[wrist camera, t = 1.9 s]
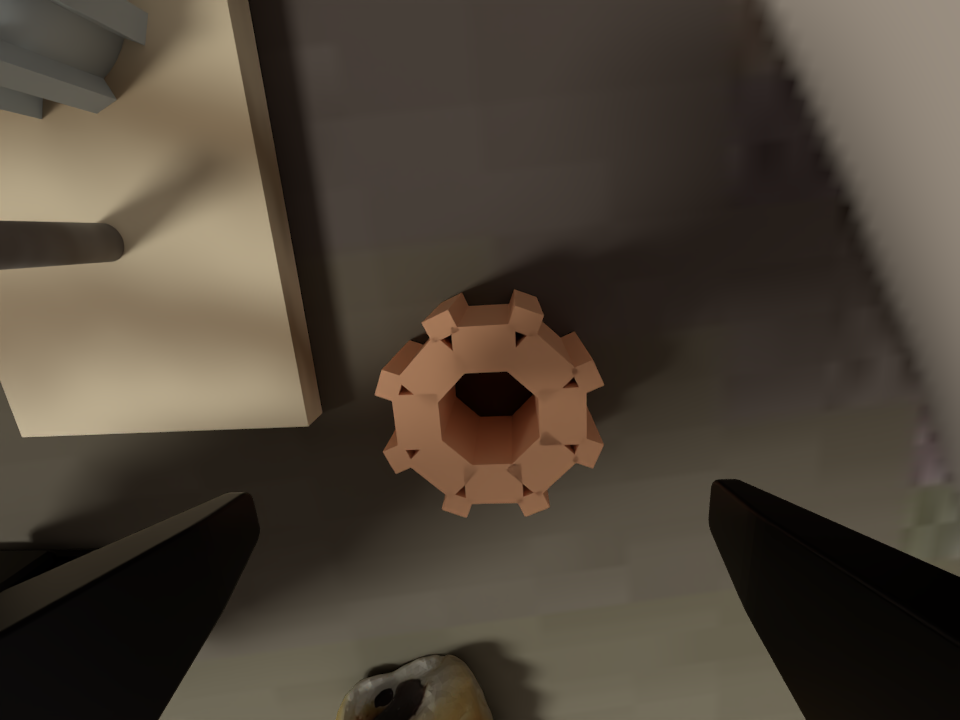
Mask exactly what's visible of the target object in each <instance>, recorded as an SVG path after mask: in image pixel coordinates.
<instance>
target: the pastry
mask: <svg viewBox="0 0 960 720" xmlns="http://www.w3.org/2000/svg"><path fill="white" fill-rule="evenodd" d="M336 720H493V717H492V714H491V711H490V709H489V707H488V705H487V702H486V700H485V697H484V693H483V691H482V689H481V687H480V685H479V683H478V682H477V680H476V679H475V677H474V674H473V673H472V672H471V670H470V669H469V668H468V666H467V665H466V664H465V663H464V662H463V661H462V660H461V659H459V658H457V657H456V656H453V655H446V656H439V655H431V656H427V657H421V658H418V659H416V660H415V661H412V662H410V663H408V664H406V665H404V666H402V667H401V668H399V669H397V670H396V671H393V672H390V673H386V674H380V675H376V676H372V677H368V678H365V679H362V680H360V681H359V682H357V683H356V684H355V686H354V687H353V688H352V689H351V690H350V691H349V692H348V693H347V694H346V695H345V697H344V700H343V702H342V704H341V706H340V708H339V710H338V714H337V717H336Z"/></svg>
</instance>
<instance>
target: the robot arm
mask: <svg viewBox="0 0 960 720" xmlns="http://www.w3.org/2000/svg"><path fill="white" fill-rule="evenodd" d="M709 527H710V530H711V533H712V535H713V538H714V540H715V542H716V545H717V547H718V549H719V552H720V554H721V556H722V559H723V561H724V563H725V566H726V568H727V570H728V573H729V575H730V577H731V580H732V582H733V584H734V587H735V589H736V591H737V594H738V596H739V598H740V600H741V602H742V605H743V607H744V609H745V611H746V613H747V615H748V617H749V618H750V620H751V622H752V624H753V626H754V628H755V629H756V631H757V633H758V635H759V637H760V638H761V640H762V642H763V644H764V646H765V647H766V649H767V651H768V653H769V655H770V656H771V658H772V660H773V662H774V663H775V665H776V667H777V669H778V671H779V672H780V674H781V676H782V678H783V680H784V681H785V683H786V685H787V687H788V689H789V690H790V692H791V694H792V696H793V697H794V699H795V701H796V703H797V705H798V706H799V708H800V710H801V712H802V714H803V715H804V717H805V719H806V720H960V577H958V576H956V575H954V574H952V573H949V572H947V571H945V570H943V569H940V568H938V567H936V566H933V565H931V564H929V563H927V562H924V561H922V560H920V559H918V558H915V557H913V556H911V555H908V554H906V553H904V552H902V551H899V550H897V549H895V548H893V547H890V546H888V545H886V544H883V543H881V542H879V541H877V540H874V539H872V538H870V537H868V536H865V535H863V534H861V533H859V532H856V531H854V530H852V529H849V528H847V527H845V526H843V525H840V524H838V523H836V522H834V521H831V520H829V519H827V518H824V517H822V516H820V515H818V514H815V513H813V512H811V511H809V510H806V509H804V508H802V507H799V506H797V505H795V504H793V503H790V502H788V501H786V500H784V499H781V498H779V497H777V496H775V495H772V494H770V493H768V492H765V491H763V490H761V489H759V488H756V487H754V486H752V485H750V484H747V483H745V482H743V481H740V480H737V479H720V480H715V481H714V482H713V484H712V486H711V495H710V507H709ZM259 533H260V527H259V522H258V518H257V514H256V510H255V505H254V501H253V498H252V496H251V495H250V494H249V493H247V492H230V493H226V494H224V495H221V496H219V497H217V498H214V499H212V500H210V501H208V502H205V503H203V504H201V505H198V506H196V507H194V508H191V509H189V510H187V511H185V512H182V513H180V514H178V515H175V516H173V517H171V518H169V519H166V520H164V521H162V522H159V523H157V524H155V525H153V526H150V527H148V528H146V529H143V530H141V531H139V532H137V533H134V534H132V535H130V536H127V537H125V538H123V539H121V540H118V541H116V542H114V543H111V544H109V545H107V546H105V547H102V548H100V549H92V550H22V551H0V720H159V718H160V716H161V715H162V713H163V711H164V710H165V708H166V706H167V705H168V703H169V701H170V700H171V698H172V696H173V695H174V693H175V691H176V690H177V688H178V686H179V685H180V683H181V681H182V680H183V678H184V676H185V675H186V673H187V671H188V670H189V668H190V666H191V665H192V663H193V661H194V660H195V658H196V656H197V655H198V653H199V651H200V650H201V648H202V646H203V645H204V643H205V641H206V640H207V638H208V636H209V635H210V633H211V631H212V630H213V628H214V626H215V625H216V623H217V621H218V619H219V618H220V616H221V614H222V612H223V610H224V608H225V606H226V604H227V603H228V601H229V599H230V597H231V594H232V592H233V590H234V588H235V586H236V584H237V582H238V580H239V578H240V576H241V574H242V572H243V570H244V568H245V566H246V563H247V561H248V559H249V557H250V555H251V553H252V551H253V549H254V547H255V545H256V543H257V541H258V538H259Z"/></svg>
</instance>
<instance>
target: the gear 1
mask: <svg viewBox="0 0 960 720" xmlns="http://www.w3.org/2000/svg"><path fill="white" fill-rule="evenodd" d="M147 19H148V13H146V12H145V11H143V10H141V9H140V8H138V7H136V6H135V5H133V4H131V3H130V2H128V1H126V0H0V109H1V110H5V111H9V112H14V113H18V114H22V115H26V116H30V117H34V118H38V119H42V107H43V98H44V99H47V100H51V101H54V102H58V103H61V104H65V105H68V106H71V107H75V108H78V109H82V110H85V111H89V112H92V113H96V114H97V113H99V112H100V111H101V110H103V109H104V108H106V107H107V106H109V105H110V104H112V103H113V102H114V101H116V100H117V99H116V97H115V96H114V94H113V93H112V91H111V89H110V88H109V86H108V85H107V83H106V81H105V80H104V78H105V77H106V75H107V74H108V73H109V72H110V71H111V69H112V67H113V66H114V64H115V62H116V61H117V58H118V56H119V53H120V51H121V48H122V45H123V41H124V38H125V39H128V40H131V41H134V42H136V43H139V44H142V45H145V41H146V30H147Z"/></svg>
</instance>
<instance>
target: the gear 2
mask: <svg viewBox="0 0 960 720" xmlns="http://www.w3.org/2000/svg"><path fill="white" fill-rule="evenodd" d="M543 317H544V314H543V312H542V309H541V307H540V304H539V302H538V299H537V297H535V296H532V295H529V294H527V293H524V292H521V291H518V290H515V289H514V291H513V293H512V296H511V299H510V302H509V304H495V305H478V306H468V304H467V302H466V300H465V298H464V296H463V294H462V293H460V294H458V295H456V296H454V297H452V298H450V299H448V300H446V301H444V302H442V303H440V304H439V305H438V306H437V307H436V308H435V309H434V310H433V311H432V313H431V314H430V315H429V316H428V317H427V318H426V319H425V320H424V321H423V322H422V325H423V327H424V328H425V330H426V332H427V334H428V336H429V339H428V340H427V341H426V342H425V344H424V345H423V344H420V343H417V342H414V341H411V340H409V341H408V342H407V343H406V344H405V345H404V346H403V347H402V349H401V350H400V351H399V352H398V353H397V354H396V355H395V356H394V357H393V358H392V359H391V360H390V361H389V362H388V363H387V365H386V366H385V367H384V368H383V369H382V370H381V374H380V377H379V381H378V385H377V388H376V392H375V396H378V397H381V398H384V399H387V400H390V401H392V405H393V412H394V420H395V427H396V430H395V431H394V433H393V435H392V437H391V438H390V440H389V442H388V443H387V445H386V447H385V449H384V450H383V453H384V455H385V457H386V458H387V460H388V462H389V463H390V465H391V467H392V468H393V470H394V472H395V473H396V474H397V473H399V472H402V471H404V470H407V469H409V468H412V469H413V470H415V471H416V472H417V473H419V474H420V475H421V476H422V477H424V478H425V479H426V480H427V481H429V482H430V483H431V484H432V485H434V486H435V487H436V488H438V489H439V490H440V491H441V492H443V493H444V494H445V498H444V502H443V506H442V510H444V511H447V512H450V513H453V514H456V515H459V516H462V517H465V518H467V516H468V513H469V511H470V508H471V505H472V504H497V503H518V504H519V506H520V508H521V510H522V512H523V514H524V515H525V517H526V516H529V515H531V514H534V513H537V512H539V511H542V510H544V509H547V508H550V504H549V497H548V491H547V489H548V488H549V487H550V486H551V485H552V484H553V483H555V482H556V481H557V480H558V479H559V478H560V477H561V476H562V475H563V474H564V473H565V472H566V471H568V470H569V469H570V468H571V467H572V466H573V465H574V464H575V463H578V464H581V465H584V466H587V467H590V468H593V467H594V465H595V463H596V461H597V459H598V457H599V454H600V452H601V450H602V448H603V446H604V444H603V441H602V439H601V437H600V434H599V432H598V430H597V428H596V425H595V423H594V421H593V419H592V416H591V414H590V412H589V410H588V407H587V396H586V393H588V392H590V391H592V390H595V389H597V388H599V387H602V386H604V383H603V381H602V379H601V376H600V374H599V372H598V370H597V367H596V365H595V363H594V361H593V359H592V357H591V356H590V354H589V353H588V351H587V350H586V348H585V347H584V345H583V343H582V342H581V340H580V339H579V337H578V336H577V334H576V333H575V331H574V332H572V333H570V334H567V335H565V336H563V337H561V338H560V337H559V336H558V335H557V334H556V333H555V332H554V331H553V330H551V329H550V328H549V327H548V326H547V325H546V324H545V323H544V322H543V321H542V320H543ZM486 372H508V373H509V374H511V375H512V376H513V377H514V378H515V379H516V380H518V381H519V382H520V383H521V384H522V385H523V386H525V387H526V388H527V389H528V390H529V391H530V392H532V393H533V395H532V396H531V397H530V398H529V399H528V400H527V401H526V402H525V403H524V404H523V405H522V406H521V407H520V408H519V409H518V410H517V411H516V412H515V413H514V414H513V415H512V416H489V417H480V416H479V415H477V414H476V413H475V412H474V411H473V410H471V409H470V408H469V407H468V406H467V405H465V404H464V403H463V402H462V401H461V400H459V399H458V398H457V397H456V390H455V383H456V382H457V381H458V380H459V379H460V378H461V377H462V376H463V375H464V374H465V373H486Z"/></svg>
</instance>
